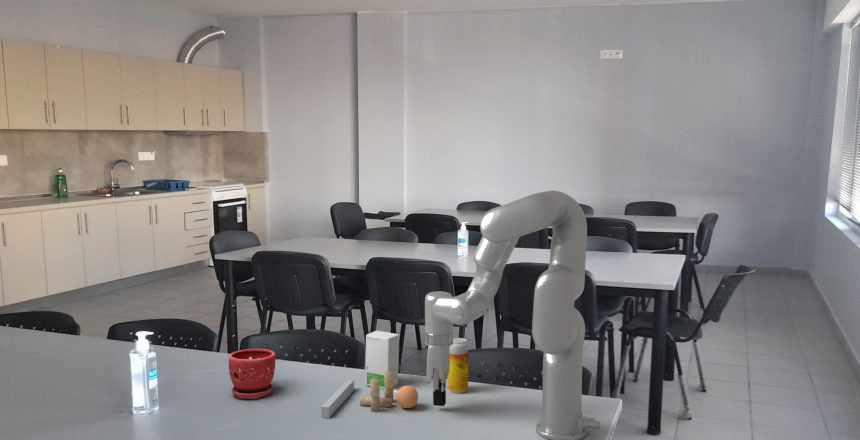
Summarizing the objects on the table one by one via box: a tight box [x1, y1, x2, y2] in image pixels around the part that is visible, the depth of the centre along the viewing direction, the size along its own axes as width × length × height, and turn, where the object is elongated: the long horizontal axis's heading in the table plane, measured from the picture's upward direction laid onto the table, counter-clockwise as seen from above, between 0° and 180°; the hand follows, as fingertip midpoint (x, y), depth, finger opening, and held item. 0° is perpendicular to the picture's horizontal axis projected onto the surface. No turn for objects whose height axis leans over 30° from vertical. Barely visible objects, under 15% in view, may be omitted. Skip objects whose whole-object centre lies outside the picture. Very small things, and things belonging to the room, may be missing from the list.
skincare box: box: [364, 330, 400, 390], centre depth 208 cm, size 8×7×16 cm
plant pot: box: [228, 348, 276, 400], centre depth 201 cm, size 13×13×12 cm
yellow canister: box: [446, 337, 469, 394], centre depth 202 cm, size 6×6×15 cm
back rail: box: [321, 379, 355, 419], centre depth 193 cm, size 2×22×3 cm, turn 169°
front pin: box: [359, 396, 393, 408], centre depth 191 cm, size 2×2×8 cm
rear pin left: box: [370, 378, 381, 413], centre depth 187 cm, size 2×2×8 cm
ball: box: [395, 385, 419, 409], centre depth 189 cm, size 6×6×6 cm
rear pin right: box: [384, 371, 394, 404], centre depth 194 cm, size 2×2×8 cm
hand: (439, 404), depth 188 cm, fingers closed
